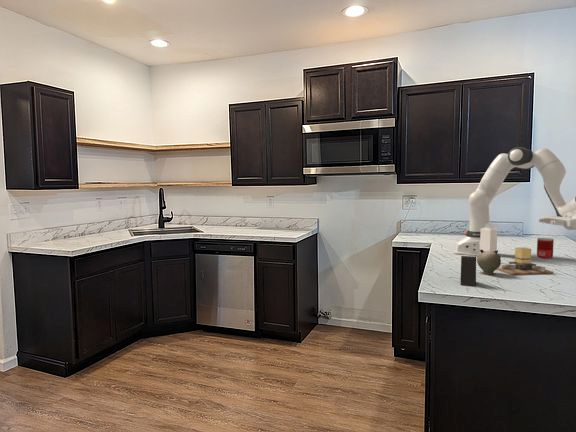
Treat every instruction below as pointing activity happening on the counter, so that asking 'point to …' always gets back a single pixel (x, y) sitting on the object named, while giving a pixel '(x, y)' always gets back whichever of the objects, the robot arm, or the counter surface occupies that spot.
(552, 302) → the counter surface
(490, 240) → the milk
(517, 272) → the coupling board
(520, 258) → the coupler
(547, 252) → the canned food
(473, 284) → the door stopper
